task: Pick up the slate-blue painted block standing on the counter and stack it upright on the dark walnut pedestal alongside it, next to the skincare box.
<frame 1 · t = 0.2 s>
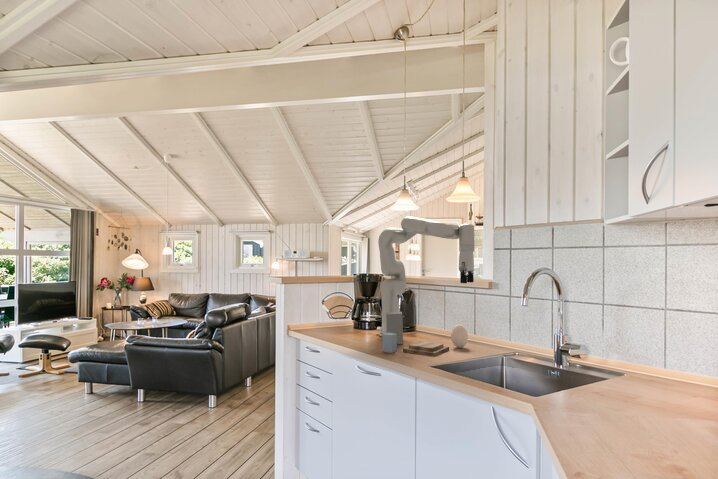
hand: (467, 282, 221), 31 cm above the countertop, tool pointing down, fingers open, 9 cm apart
pedestal: (426, 350, 206), on the countertop
slate block: (389, 351, 206), on the countertop
skincare box: (394, 343, 224), on the countertop
egg: (459, 348, 214), on the countertop
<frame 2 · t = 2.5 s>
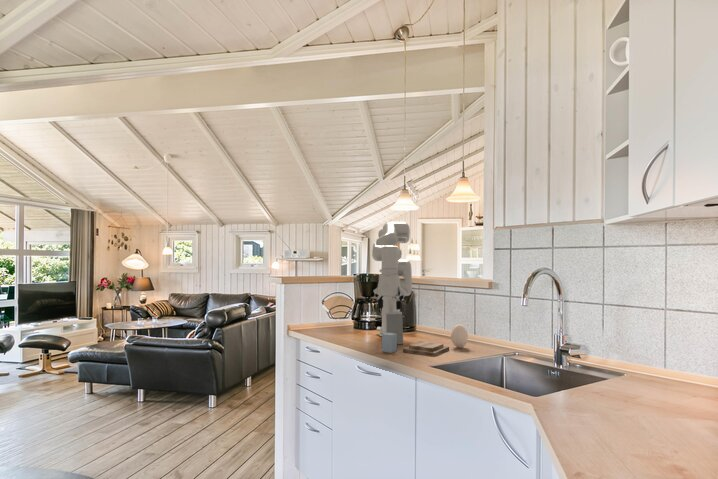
hand: (389, 308, 206), 20 cm above the countertop, tool pointing down, fingers open, 9 cm apart
nothing on the countertop moved.
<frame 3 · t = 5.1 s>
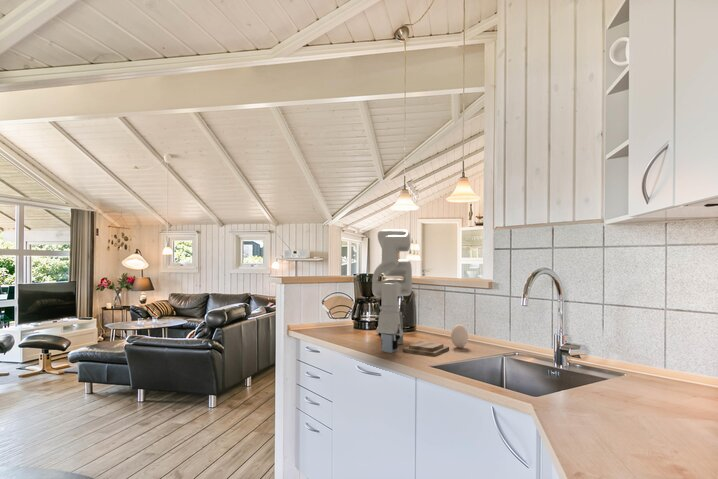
hand: (389, 347, 206), 1 cm above the countertop, tool pointing down, fingers closed on slate block, 5 cm apart
slate block: (389, 351, 206), on the countertop, touching gripper
everything else where it was.
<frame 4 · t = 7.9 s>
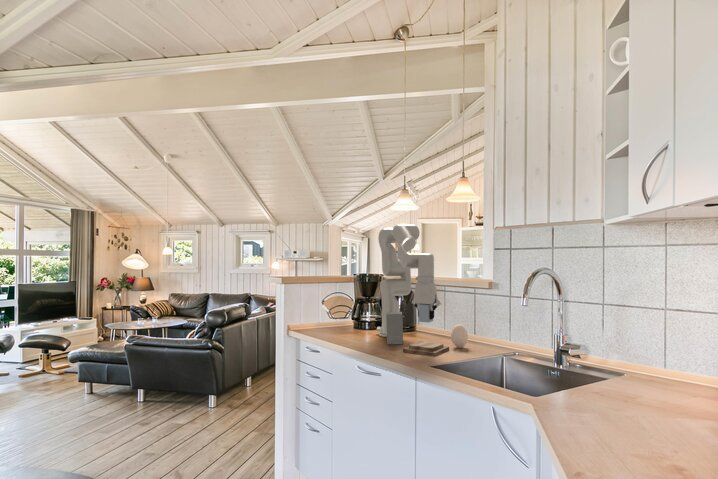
hand: (426, 318, 207), 15 cm above the countertop, tool pointing down, fingers closed on slate block, 5 cm apart
slate block: (425, 321, 207), point 14 cm above the countertop, touching gripper
everything else where it was.
when the fingers open (5 cm above the countertop, at t = 10.5 s): slate block stays where it is, resting on pedestal.
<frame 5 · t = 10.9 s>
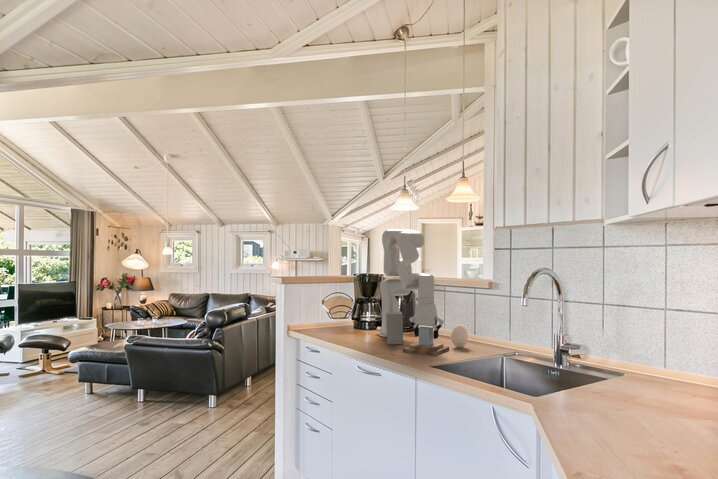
hand: (426, 337, 206), 6 cm above the countertop, tool pointing down, fingers open, 9 cm apart
slate block: (426, 344, 206), point 3 cm above the countertop, touching pedestal
everything else where it was.
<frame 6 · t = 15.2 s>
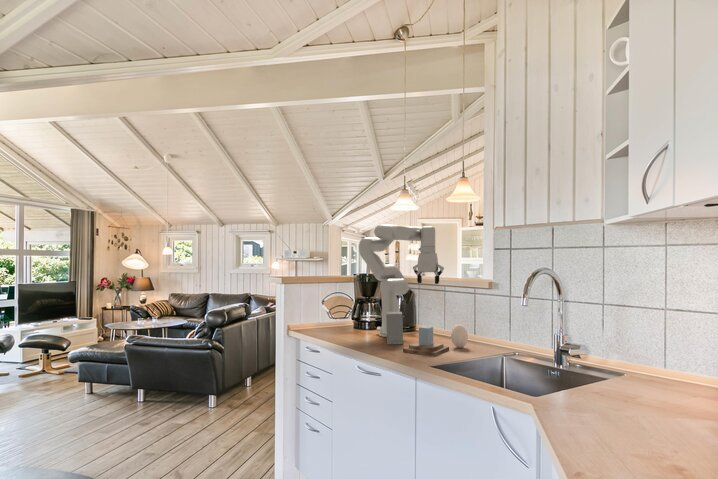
hand: (428, 283, 227), 30 cm above the countertop, tool pointing down, fingers open, 9 cm apart
nothing on the countertop moved.
at the end: slate block inside the target area on the pedestal (0.1 cm from its centre), point 3.0 cm above the pedestal's base; slate block tilted 0°; the gripper is holding nothing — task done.
